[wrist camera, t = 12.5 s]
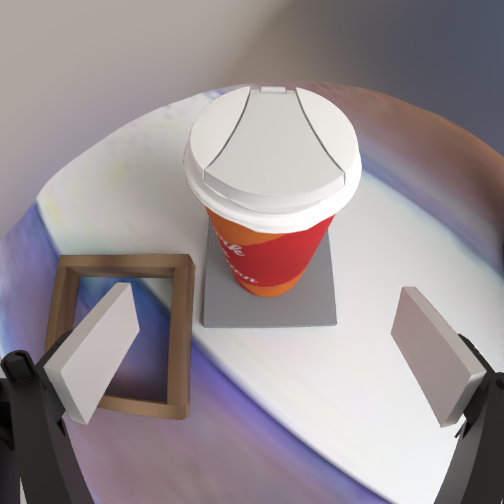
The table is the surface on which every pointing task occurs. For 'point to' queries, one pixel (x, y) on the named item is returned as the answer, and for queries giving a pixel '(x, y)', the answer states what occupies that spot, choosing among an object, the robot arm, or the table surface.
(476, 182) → the table surface
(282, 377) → the table surface
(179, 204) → the table surface
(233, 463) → the table surface
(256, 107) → the paper cup
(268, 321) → the mat
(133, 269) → the brown square open frame
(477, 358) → the robot arm
